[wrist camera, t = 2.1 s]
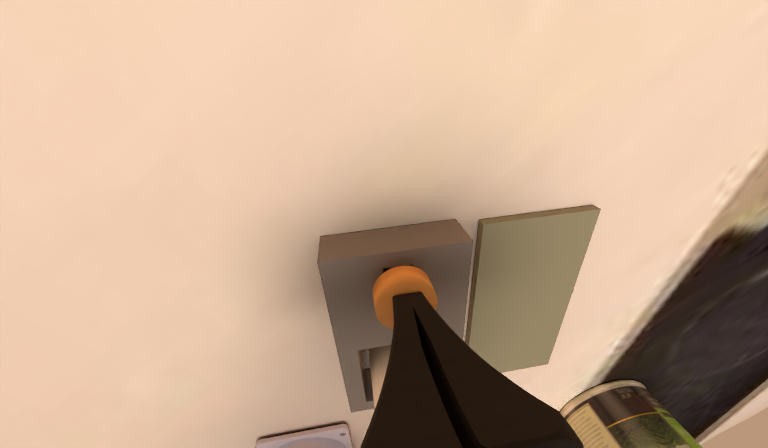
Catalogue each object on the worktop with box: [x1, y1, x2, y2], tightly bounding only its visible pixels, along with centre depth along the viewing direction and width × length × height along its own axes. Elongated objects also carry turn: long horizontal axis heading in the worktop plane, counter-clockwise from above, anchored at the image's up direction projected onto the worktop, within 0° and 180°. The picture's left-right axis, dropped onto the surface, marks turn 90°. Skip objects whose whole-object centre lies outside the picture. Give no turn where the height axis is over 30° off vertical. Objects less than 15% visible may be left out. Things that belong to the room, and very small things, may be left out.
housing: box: [317, 219, 473, 412], centre depth 18 cm, size 14×8×2 cm, turn 4°
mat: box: [466, 205, 601, 373], centre depth 21 cm, size 15×8×1 cm, turn 4°
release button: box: [373, 266, 438, 328], centre depth 15 cm, size 3×3×4 cm
